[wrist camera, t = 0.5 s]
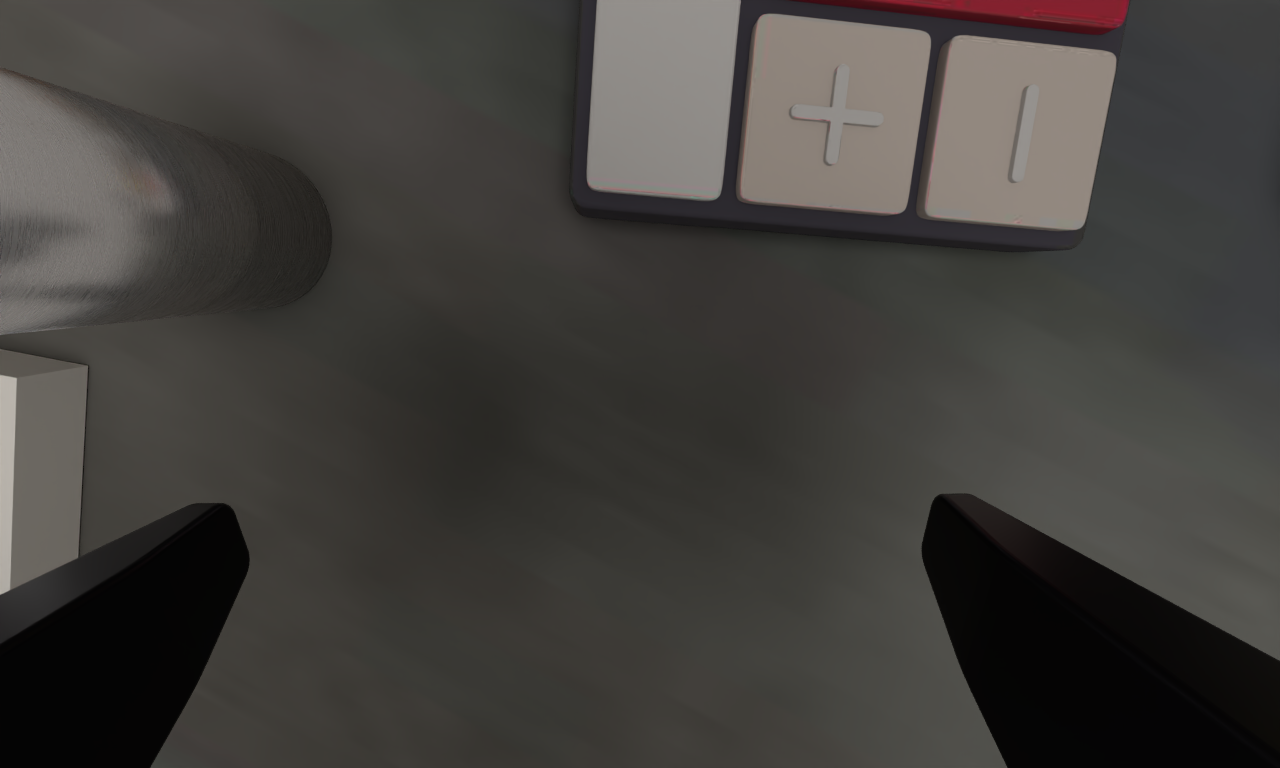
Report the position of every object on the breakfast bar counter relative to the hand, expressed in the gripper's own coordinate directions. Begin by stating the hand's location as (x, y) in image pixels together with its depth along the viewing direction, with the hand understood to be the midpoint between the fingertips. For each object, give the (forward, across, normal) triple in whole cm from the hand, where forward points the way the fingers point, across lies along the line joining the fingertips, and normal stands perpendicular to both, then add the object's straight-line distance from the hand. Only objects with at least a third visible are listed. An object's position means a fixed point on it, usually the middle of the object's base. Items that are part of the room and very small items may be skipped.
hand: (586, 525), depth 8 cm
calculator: (+16, -7, -6) cm, 18 cm away
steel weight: (+14, +12, -1) cm, 18 cm away
